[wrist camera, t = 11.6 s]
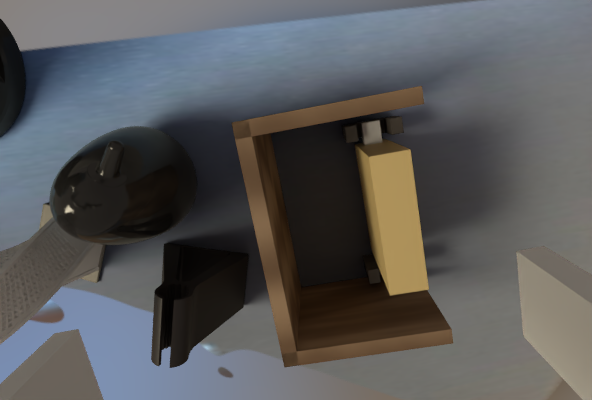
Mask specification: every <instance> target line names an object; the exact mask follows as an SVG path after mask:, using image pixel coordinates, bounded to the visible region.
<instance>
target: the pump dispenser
mask: <svg viewBox="0 0 592 400" xmlns="http://www.w3.org/2000/svg"><path fill="white" fill-rule="evenodd" d="M196 192H197V177H196V172H195V168H194V165H193V163H192V160H191V158H190V157H189V155H188V153H187V152H186V151H185V149H184V148H183V147H182V146H181V145H180V144H179V143H178V142H177V141H176V140H175V139H174V138H172V137H171V136H169V135H168V134H166V133H164V132H162V131H160V130H157V129H154V128H150V127H144V126H132V127H125V128H120V129H117V130H114V131H111V132H109V133H106V134H104V135H102V136H100V137H98V138H96V139H95V140H93V141H91V142H90V143H88V144H87V145H85V146H84V147H83V148H82V149H80V150H79V151H78V152H77V153H76V154H74V155H73V156H72V157H71V158H70V159H69V160H68V161H67V162H66V163H65V164H64V166H63V167H62V168H61V169H60V171H59V172H58V174H57V176H56V177H55V179H54V182H53V184H52V187H51V191H50V199H49V203H50V210H51V213H52V216H53V218H54V220H55V221H56V223H57V224H58V225H59V227H60V228H61V229H62V230H64V231H65V232H66V233H68V234H69V235H71V236H72V237H74V238H77V239H79V240H82V241H85V242H88V243H93V244H100V245H123V244H131V243H136V242H140V241H144V240H147V239H150V238H153V237H156V236H158V235H161V234H163V233H165V232H167V231H169V230H170V229H172V228H173V227H175V226H176V225H178V224H179V223H180V222H181V221H182V220H183V219H184V218H185V217H186V216H187V214H188V213H189V211H190V210H191V208H192V206H193V204H194V201H195V197H196Z"/></svg>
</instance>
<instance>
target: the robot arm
mask: <svg viewBox="0 0 592 400" xmlns="http://www.w3.org/2000/svg"><path fill="white" fill-rule="evenodd" d="M25 82H26V80H25V69H24V64H23V60H22V56H21V53H20V50H19V48H18V45H17V43H16V41H15V39H14V37H13V35H12V34H11V32H10V31H9V29H8V28H7V26H6V25H5V24H4V22H3V21H2V20H1V19H0V136H1V135H3V134H4V133H5V132H6V131H7V130H8V129H9V128H10V127H11V125H12V124H13V123H14V121H15V120H16V118H17V116H18V114H19V112H20V110H21V107H22V104H23V100H24V95H25ZM516 253H517V265H518V277H519V289H520V301H521V313H522V324H523V336H524V337H525V339H526V340H527V341H528V342H529V343H530V344H531V345H532V346H533V347H534V348H535V349H536V350H537V351H538V352H539V353H540V355H541V356H542V357H543V358H544V359H545V360H546V361H547V362H548V363H549V364H550V365H551V366H552V367H553V368H554V370H555V371H556V372H557V373H558V374H559V375H560V376H561V377H562V378H563V379H564V380H565V381H566V382H567V383H568V384H569V385H570V387H571V388H572V389H573V390H574V391H575V392H576V393H577V394H578V395H579V396H580V397H581V398H582V399H583V400H592V275H591V274H589V273H588V272H586V271H584V270H583V269H581V268H579V267H578V266H576V265H574V264H573V263H571V262H569V261H568V260H566V259H564V258H563V257H561V256H559V255H558V254H556V253H555V252H553V251H551V250H550V249H548V248H546V247H545V246H541V247H535V248H530V249H524V250H519V251H516ZM0 400H103V397H102V394H101V391H100V389H99V386H98V383H97V380H96V377H95V375H94V372H93V369H92V367H91V363H90V361H89V358H88V355H87V352H86V350H85V347H84V344H83V341H82V338H81V336H80V333H79V330H78V329H77V330H71V331H65V332H60V333H55V334H53V335H52V336H51V337H50V338H49V339H48V340H47V341H46V342H45V343H44V344H43V345H42V346H40V347H39V348H38V349H37V350H36V351H35V352H34V353H33V354H32V355H31V356H30V357H29V358H28V359H27V360H26V361H24V363H22V364H21V365H20V366H19V367H18V368H17V369H16V370H15V371H14V372H13V373H12V374H11V375H10V376H8V377H7V378H6V379H5V380H4V381H3V382H2V383H1V384H0Z"/></svg>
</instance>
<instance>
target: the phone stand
mask: <svg viewBox="0 0 592 400" xmlns="http://www.w3.org/2000/svg"><path fill="white" fill-rule="evenodd" d="M248 257H249V255H248V254H245V253H238V252H230V251H222V250H215V249H205V248H199V247H192V246H184V245H176V244H169V243H166V244H164V252H163V270H162V284H161V285H160V286H159V287H158V288H157V289H156V290H155V296H154V317H153V336H152V356H151V360H152V362H153V363H154V364H155V365H157V366H159V365H161V352H162V350H163V349H164V348H168V347H171V356H170V368H172V367H177V366H180V365H182V364H183V363H185V362H186V361H187V359H188V356H189V353H190V351H191V350H192V348H193V347H194V346H196V345H197V344H198V343H199V342H201V341H202V340H203V339H204V338H206V337H207V336H208V335H209V334H211V333H212V332H213V331H214V330H216V329H217V328H218V327H219V326H221V325H222V324H223V323H224V322H225V321H227V320H228V319H229V318H230V317H232V316H233V315H234V314H235V313H237V312H238V311H239V310H240V309H242V308H243V306H244V296H245V286H246V276H247V266H248Z"/></svg>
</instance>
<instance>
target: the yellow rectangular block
mask: <svg viewBox="0 0 592 400" xmlns="http://www.w3.org/2000/svg"><path fill="white" fill-rule="evenodd" d="M360 127H361V134H362V140H363V143H359V144H355V150H356V156H357V163H358V169H359V175H360V182H361V188H362V194H363V201H364V207H365V213H366V220H367V226H368V232H369V239H370V245H371V250H372V252H373V255H374V257H375V260H376V262H377V265H378V267H379V270H380V272H381V275H382V277H383V279H384V282H385V284H386V287H387V289H388V292H389V294H390V295H397V294H403V293H410V292H416V291H423V290H429V287H428V280H427V272H426V264H425V257H424V249H423V241H422V234H421V226H420V218H419V211H418V203H417V196H416V188H415V180H414V173H413V165H412V157H411V150H410V149H408V148H406V147H404V146H401V145H399V144H396V143H394V142H392V141H389V140H387V139H382V136H381V129H380V122H379V120H374V121H368V122H363V123H360Z"/></svg>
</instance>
